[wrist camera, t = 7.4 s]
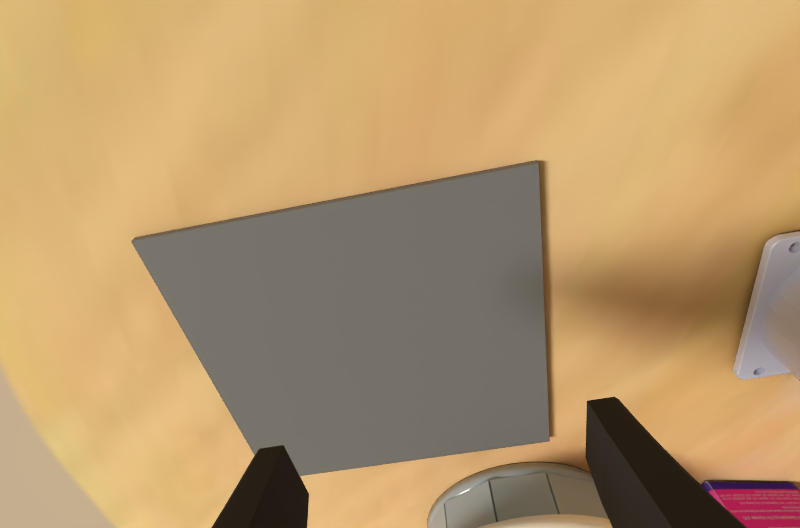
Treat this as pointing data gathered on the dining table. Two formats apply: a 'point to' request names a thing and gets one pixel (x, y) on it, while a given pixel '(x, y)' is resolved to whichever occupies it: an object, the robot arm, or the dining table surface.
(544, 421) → the mat
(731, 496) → the supplement box
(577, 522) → the lid
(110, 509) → the dining table surface
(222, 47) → the dining table surface
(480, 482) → the bowl
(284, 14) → the dining table surface
